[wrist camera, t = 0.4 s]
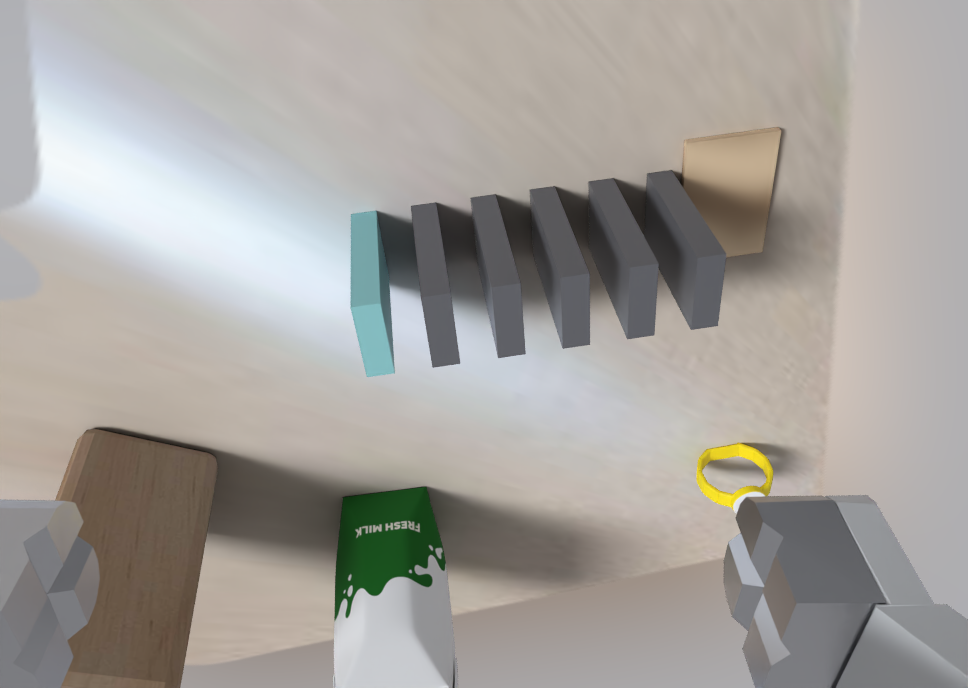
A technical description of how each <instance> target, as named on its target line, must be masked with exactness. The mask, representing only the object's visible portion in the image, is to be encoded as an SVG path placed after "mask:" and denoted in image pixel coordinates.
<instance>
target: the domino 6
mask: <svg viewBox="0 0 968 688" xmlns="http://www.w3.org/2000/svg"><path fill="white" fill-rule="evenodd" d="M644 237H645V239H646V241H647V243H648V245H649V246H650V248H651V250H652V252H653V254H654V256H655V258H656V260H657V262H658V263H659V266H658V268H659V270H660V272H661V274H662V275H663V277H664V279H665V281H666V283H667V285H668V287H669V289H670V291H671V293H672V295H673V296H674V298H675V300H676V302H677V304H678V306H679V308H680V310H681V312H682V314H683V316H684V317H685V319H686V321H687V323H688V325H689V327H690V329H691V330H693V329H700V328H707V327H714V326H718V320H719V312H720V303H721V295H722V287H723V279H724V271H725V263H726V252H725V251H724V249H723V248H722V246H721V245H720V243H719V242H718V240H717V239H716V237H715V236H714V234H713V233H712V231H711V230H710V228H709V226H708V225H707V223H706V222H705V220H704V219H703V217H702V216H701V214H700V213H699V211H698V210H697V208H696V207H695V205H694V204H693V202H692V201H691V199H690V198H689V196H688V194H687V193H686V191H685V190H684V188H683V187H682V185H681V184H680V182H679V181H678V179H677V178H676V176H675V175H674V173H673V172H672V170H669V171H662V172H655V173H647V185H646V207H645V229H644Z"/></svg>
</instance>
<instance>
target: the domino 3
mask: <svg viewBox="0 0 968 688" xmlns="http://www.w3.org/2000/svg"><path fill="white" fill-rule="evenodd" d="M471 207H472V216H473V226H474V235H475V244H476V254H477V263H478V268H479V272H480V277H481V282H482V286H483V291H484V295H485V300H486V304H487V309H488V314H489V318H490V323H491V327H492V332H493V337H494V341H495V346H496V350H497V355H498V358H502V357H509V356H515V355H522V354H526V353H525V339H524V324H523V310H522V295H521V283H520V279H519V276H518V272H517V269H516V265H515V261H514V258H513V254H512V251H511V247H510V244H509V240H508V237H507V233H506V230H505V226H504V223H503V219H502V216H501V212H500V209H499V205H498V201H497V198H496V194H495V195H487V196H480V197H473V198H471Z"/></svg>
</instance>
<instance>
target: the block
mask: <svg viewBox="0 0 968 688" xmlns="http://www.w3.org/2000/svg"><path fill="white" fill-rule="evenodd" d="M217 472H218V466H217V462H216V458H215V457H214V456H213V455H211V454H209V453H206V452H201V451H196V450H192V449H187V448H182V447H178V446H173V445H168V444H164V443H159V442H154V441H150V440H145V439H140V438H136V437H131V436H126V435H122V434H117V433H112V432H107V431H103V430H98V429H91V430H87V431H86V432H85V433H84V434H83V435H82V436H81V437H80V438H79V439H78V440H77V442H76V445H75V448H74V450H73V453H72V456H71V459H70V461H69V464H68V467H67V470H66V472H65V475H64V478H63V480H62V483H61V486H60V489H59V491H58V494H57V497H56V500H55V501H68V502H73V503H76V506H77V508H78V510H79V512H80V515H81V517H82V519H83V521H84V522H83V524H82V526H81V528H80V531H79V533H78V535H77V536H79V537H80V538H82V539H83V540H84V541H86V542H87V543H89V544H90V545H91V546H93V548H94V551H95V553H96V556H97V559H98V565H99V574H100V581H99V587H98V593H97V600H96V604H95V606H94V609H93V611H92V614H91V616H90V619H89V621H88V624H87V625H85V626H84V627H83V628H82V629H80V630H79V631H78V632H77V633H76V634H74V635H73V636H72V637H71V638H70V639H68V643H69V646H70V648H71V651H72V654H73V656H74V657H73V660H72V662H71V664H70V667H69V669H68V671H67V674H66V676H65V678H64V681H63V683H62V685H61V688H180V685H181V680H182V674H183V668H184V663H185V657H186V651H187V645H188V639H189V634H190V628H191V622H192V616H193V611H194V605H195V599H196V593H197V587H198V582H199V576H200V570H201V564H202V559H203V553H204V547H205V541H206V536H207V530H208V524H209V518H210V512H211V507H212V501H213V495H214V489H215V484H216V478H217Z"/></svg>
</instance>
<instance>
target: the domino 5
mask: <svg viewBox="0 0 968 688" xmlns="http://www.w3.org/2000/svg"><path fill="white" fill-rule="evenodd" d="M589 249H590V252H591V254H592V257H593V259H594V261H595V264H596V266H597V268H598V271H599V273H600V276H601V278H602V280H603V283H604V285H605V287H606V290H607V292H608V295H609V297H610V299H611V302H612V304H613V306H614V309H615V311H616V313H617V316H618V318H619V321H620V323H621V325H622V328H623V330H624V332H625V335H626V337H627V339H632V338H639V337H645V336H652V335H654V332H655V315H656V299H657V282H658V266H659V263H658V262H657V260H656V258H655V256H654V254H653V252H652V250H651V248H650V246H649V245H648V243H647V241H646V239H645V237H644V235H643V233H642V231H641V230H640V228H639V226H638V224H637V222H636V220H635V218H634V216H633V214H632V213H631V211H630V209H629V207H628V205H627V203H626V201H625V199H624V198H623V196H622V194H621V192H620V190H619V188H618V186H617V184H616V182H615V181H614V179H613V178H611V179H604V180H597V181H589Z"/></svg>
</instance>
